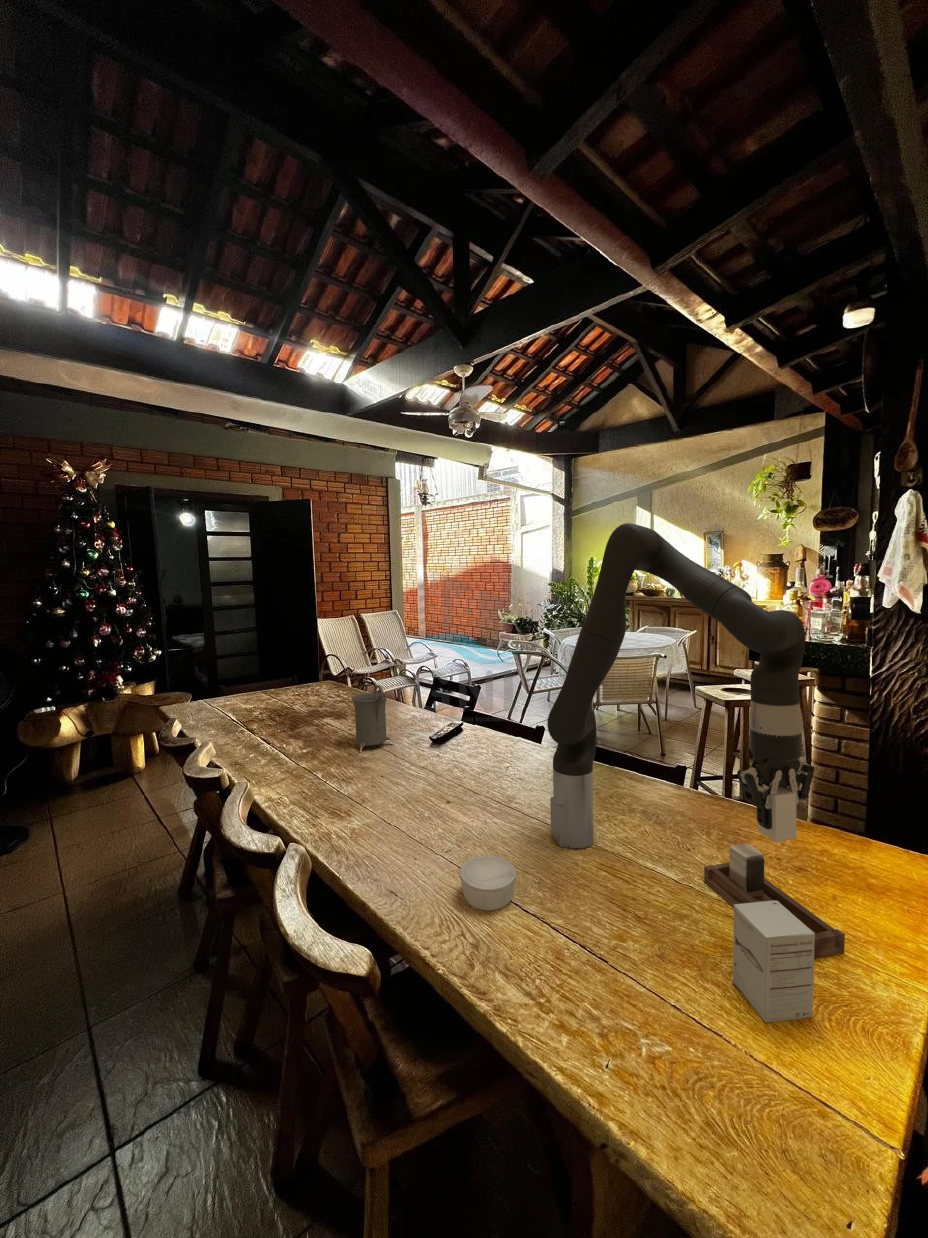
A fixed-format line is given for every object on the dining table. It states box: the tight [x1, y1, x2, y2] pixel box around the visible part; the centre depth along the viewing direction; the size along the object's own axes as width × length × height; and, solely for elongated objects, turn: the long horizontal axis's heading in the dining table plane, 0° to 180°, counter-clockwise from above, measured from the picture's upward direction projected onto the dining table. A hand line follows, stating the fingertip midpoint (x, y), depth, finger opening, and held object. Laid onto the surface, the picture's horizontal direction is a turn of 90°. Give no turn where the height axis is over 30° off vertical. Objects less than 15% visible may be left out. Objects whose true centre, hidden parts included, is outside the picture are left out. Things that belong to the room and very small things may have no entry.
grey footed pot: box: [351, 684, 392, 748], centre depth 189 cm, size 19×15×25 cm
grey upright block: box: [757, 785, 798, 843], centre depth 86 cm, size 4×5×8 cm
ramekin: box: [459, 855, 517, 912], centre depth 97 cm, size 11×11×5 cm
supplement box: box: [732, 901, 815, 1023], centre depth 71 cm, size 7×7×13 cm
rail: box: [703, 843, 846, 960], centre depth 90 cm, size 9×22×9 cm, turn 11°
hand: (777, 824), depth 85 cm, fingers closed on grey upright block, 4 cm apart
